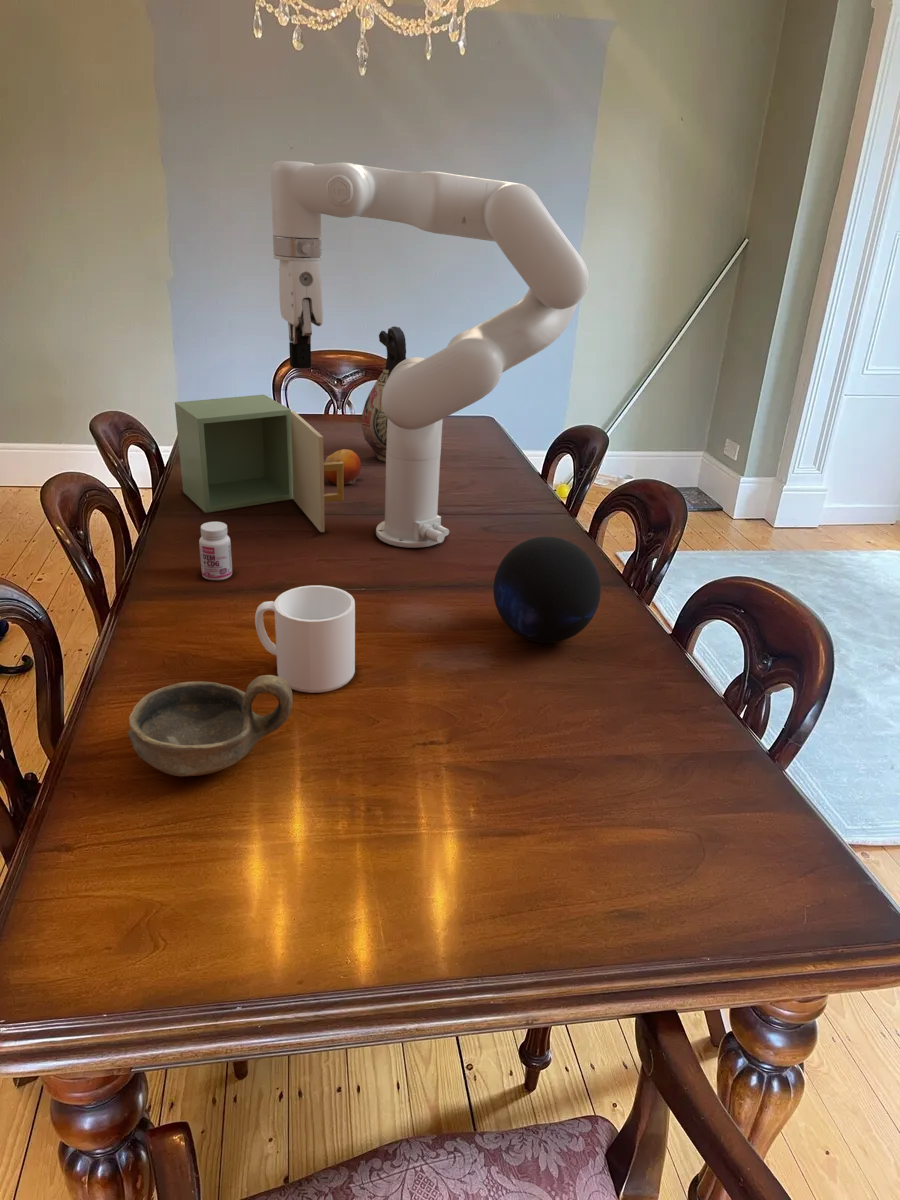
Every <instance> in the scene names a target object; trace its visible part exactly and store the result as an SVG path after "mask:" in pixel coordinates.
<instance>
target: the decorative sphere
mask: <svg viewBox="0 0 900 1200" xmlns="http://www.w3.org/2000/svg"><path fill="white" fill-rule="evenodd" d="M601 587H602V586H601V580H600V575H599V572H598V569H597V567H596V565H595V563H594V561H593V560H592V559H591V557H590V556H589V555H588V553H587V552H585V551H584V550H583V548H581V547H580V546H579V545H577V544H575V543H573V542H572V541H569V540H567V539H564V538H561V537H557V536H537V537H532V538H529V539H527V540H524V541H523V542H521V543H518V544H517V545H515V547H513V548H512V549H510V551H509V552H507V553H506V554H505V556H504V557H503V558H502V560H501V561H500V563H499V565H498V567H497V570H496V573H495V576H494V579H493V599H494V604H495V607H496V610H497V612H498V615H499V616H500V617H501V620H503V622H504V623H505V625H506V626H507V627H508V628H510V630H511V631H513V632H514V633H515V634H517V635H518V636H520V637H522V638H524V639H526V640H529V641H531V642H536V643H542V644H553V643H558V642H564V641H566V640H568V639H571V638H573V637H574V636H576V635H578V634H580V633H581V632H582V631H583V630H584V629H586V627H587V626H588V625H590V623H591V621H592V620H593V618H594V616H595V614H596V613H597V610H598V608H599V605H600V601H601V594H602V593H601V592H602V590H601V589H602V588H601Z"/></svg>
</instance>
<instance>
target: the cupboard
mask: <svg viewBox="0 0 900 1200" xmlns="http://www.w3.org/2000/svg"><path fill="white" fill-rule="evenodd" d="M174 409H175V410H174V411H175V421H176V428H177V429H176V430H177V431H176V432H177V441H178V450H179V451H178V453H179V462H180V473H181V482H182V484H181V485H182V493H183V494H184V495H186V496H187V497H188V498H189V499H190V500H191V501H192V502H193V503H194V504H195V505H196V506H197V507H199V509H201V511H202V512H204V513H205V514H207V513H214V512H219V511H220V512H221V511H225V510H226V511H227V510H232V509H238V508H239V509H240V508H244V507H250V506H257V505H264V504H270V503H276V502H277V503H278V502H283V501H289V500H293V472H292V441H291V411H292V409H290V408H289V407H288V406H285V405H284V404H282V403H280V402H278V401H276V400H274V399H273V398H271V397H269V396H267V395H266V394H254V395H253V394H252V395H243V396H232V397H221V398H220V397H219V398H210V399H195V400H186V401H176V402H174Z"/></svg>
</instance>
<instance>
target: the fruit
mask: <svg viewBox="0 0 900 1200" xmlns="http://www.w3.org/2000/svg"><path fill="white" fill-rule="evenodd" d="M329 462H343V463H344V486H346V485H355V482H356V480H359V481H360V478H358V477H359V475H360V473H361V469H362V463H361V459H360V457H359V456H358V454H357V453H356V452H354V450H352V449H346V448H345V449H344V448H343V449H339V450H337V451H334V452H333V453H332V454H330V455H328V456H326V459H325V460H324V463H329ZM324 478H326V480H328V481H329V482H330V483H331V484H333V485H336V486H337V470H334V471H324Z"/></svg>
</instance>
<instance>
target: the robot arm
mask: <svg viewBox="0 0 900 1200" xmlns="http://www.w3.org/2000/svg"><path fill="white" fill-rule="evenodd" d="M270 198H271V221H272V223H271V224H272V247H273V249H272V251H273V259H275V260H279V267H278V271H279V273H278V282H279V283H278V286H279V287H278V289H279V290H278V291H279V310H280V316H281V318H282V319H283V320H284V321H286V322H287V327H288V341H289V342H288V345H289V346H288V347H289V348H288V349H289V366H290V368H292V369H294V370H296V369H297V370H298V369H310V368H311V367H312V352H311V351H312V337H311V336H312V334H313V330H312V329H313V328H312V324H313V325H315V326H316V327H321V326H322V325H323V324H324V313H323V311H324V310H323V294H322V281H321V271H320V265H319V262H321V261H322V260H323V259H322V255H323V254H322V253H323V252H322V215H326V216H331V217H335V218H341V219H347V218H352V217H360V218H368V219H373V220H374V219H375V220H381V221H382V220H383V221H388V222H394V223H401V224H406V225H409V226H412V227H415V228H417V229H419V230H421V231H424V232H427V233H432V234H437V235H446V236H452V237H460V238H461V237H462V238H467V239H473V240H481V241H489V242H495V243H496V244H497V246H498V248H499V249H500V250H501V252H502V253H503V255H504V256H505V257H506V258H507V260H508V262H509V263H510V264H511V265H512V267H513V268H514V269H515V271H516V272H517V273H518V275H519V276H520V277H521V279H522V280H523V282H525V284H526V285H527V286H528V290H527V292H526V294H525V295H524V296H523V297H521V299H520V300H519V301H517V302H516V303H514V304H513V305H511V306H509V307H508V308H506V309H504V310H503V311H501V312H499V313H498V314H496V315H494V316H493V317H490V318H488V319H486V320H484V321H482V322H481V323H479V324H477V325H474V326H472V327H470V328H468V329H466V330H463V331H462V332H459V333H457V334H455V336H454V337H452V338H451V339H450V341H449V342H448V344H447V345H446V347H445V348H443V349H441V350H439V351H437V352H435V353H434V354H432V355H430V356H428V357H425V358H424V357H419V356H414V357H413V356H412V357H407V358H406V359H405V360H403V361H401V362H400V363H399V364H398V365H396V367H395V368H394V369H393V370H392V372H391V374H390V375H389V377H388V379H387V382H386V384H385V386H384V389H383V393H382V406H383V410H384V412H385V414H386V416H387V418H388V420H387V447H386V461H385V488H384V489H385V490H384V491H385V493H384V497H385V498H384V499H385V500H384V520H383V521H381V522H379V523H378V524H377V526H376V527H375V535H376V537H377V538H378V539H379V540H380V541H381V542H383V543H385V544H388V545H391V546H394V547H399V548H406V549H420V548H428V547H432V546H435V545H438V544H441V543H443V542H444V541H445V538H446V537H448V536H449V534H450V530H449V528H446V527H444V526H443V525H442V516H441V515H439V514H438V509H439V491H440V471H441V470H440V469H441V455H442V454H441V453H442V436H443V421H444V419H445V418H447V417H449V416H451V415H453V414H455V413H457V412H459V411H461V410H463V409H465V408H466V407H469V406H471V405H472V404H474V403H476V402H478V401H480V400H482V399H483V398H485V397H486V396H488V395H489V394H490V393H491V392H492V391H493V390H494V389H495V388H496V386H497V385H498V383H499V382H500V379H501V377H502V373H505V372H507V371H508V370H510V369H511V368H513V367H515V366H517V365H519V364H521V363H523V362H524V361H527V359H529V358H531V357H533V356H535V355H537V354H538V353H540V352H542V351H543V350H545V349H546V348H548V347H549V346H550V345H551V344H553V343H554V342H556V340H557V339H558V338H559V337H560V336H561V335H562V334H563V332H564V331H565V330H566V328H567V327H568V325H569V324H570V322H571V320H572V318H573V316H574V314H575V311H576V309H577V307H578V304H579V302H580V301H581V300H582V299H583V297H584V296H585V294H586V292H587V290H588V286H589V284H590V283H589V282H590V281H589V280H590V275H589V269H588V266H587V264H586V262H585V261H584V259H583V257H582V256H581V255H580V254H579V252H578V251H577V250H576V248H575V247H574V245H573V244H572V242H571V241H570V240H569V239H568V237H567V236H566V235H565V233H564V232H563V230H562V229H561V227H560V226H559V225H558V223H557V222H556V221H555V219H554V218H553V217H552V214H550V212H549V211H548V209H547V208H546V206H545V205H544V203H543V201H542V200H541V198H540V197H539V195H538V194H537V193H536V191H534V189H532V188H531V187H529V186H528V185H526V184H524V183H518V182H512V181H511V182H510V181H505V180H504V181H503V180H495V179H491V178H490V179H489V178H482V177H475V176H468V175H461V174H454V173H447V172H441V171H420V172H419V171H404V170H397V169H389V168H382V167H375V166H370V165H362V164H357V163H352V162H331V163H330V162H329V163H321V164H320V163H318V164H314V163H312V162H308V161H297V160H296V161H295V160H278V161H274V163H272V165H271V167H270Z"/></svg>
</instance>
